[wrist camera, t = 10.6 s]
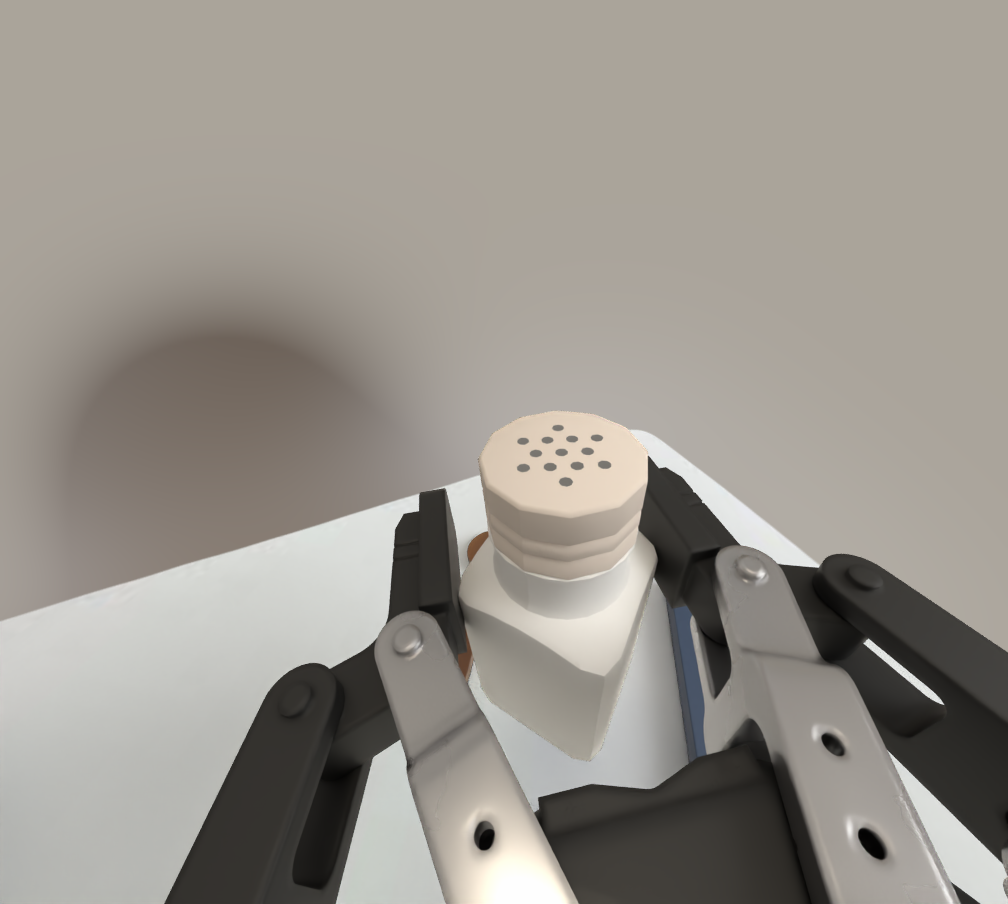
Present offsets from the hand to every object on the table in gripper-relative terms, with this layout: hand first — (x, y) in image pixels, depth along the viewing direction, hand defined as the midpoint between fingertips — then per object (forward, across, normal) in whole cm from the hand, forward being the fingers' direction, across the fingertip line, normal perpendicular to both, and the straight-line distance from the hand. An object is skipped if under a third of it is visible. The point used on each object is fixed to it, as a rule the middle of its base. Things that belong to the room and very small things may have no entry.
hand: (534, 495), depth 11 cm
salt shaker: (-3, 0, +6) cm, 7 cm away
